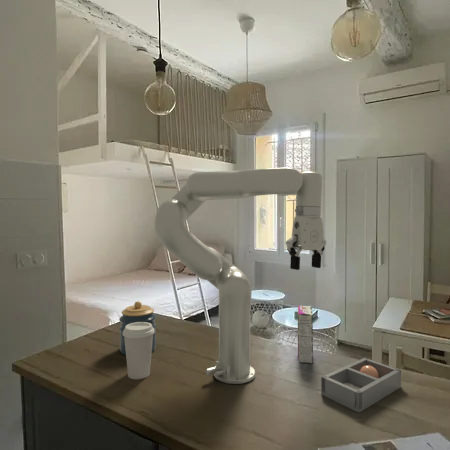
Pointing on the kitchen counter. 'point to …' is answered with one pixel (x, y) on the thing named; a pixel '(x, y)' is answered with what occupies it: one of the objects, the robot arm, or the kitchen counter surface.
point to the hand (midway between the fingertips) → (305, 268)
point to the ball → (369, 371)
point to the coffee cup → (138, 348)
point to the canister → (137, 315)
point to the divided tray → (360, 384)
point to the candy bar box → (305, 334)
